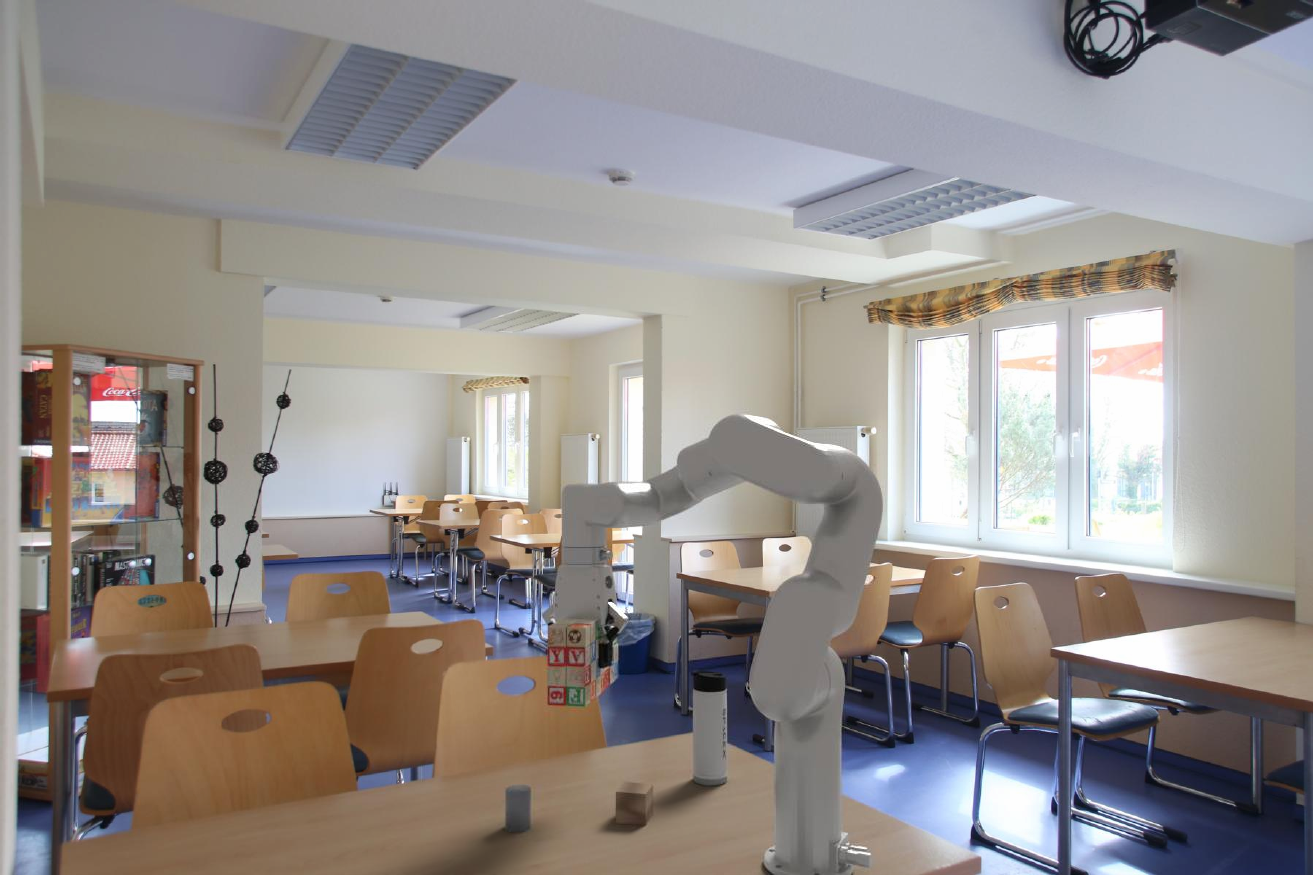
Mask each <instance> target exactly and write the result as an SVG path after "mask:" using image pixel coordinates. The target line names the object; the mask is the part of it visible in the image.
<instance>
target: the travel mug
mask: <svg viewBox="0 0 1313 875" xmlns="http://www.w3.org/2000/svg"><path fill="white" fill-rule="evenodd" d="M690 674H691V676H692V677H693V679H692V680H693V681H692V684H693V685H692V687H693V688H692V771H693V772H692V780H693V781H694V782H695V784H698V785H701V786H712V787H713V786H721V785H724V784H725V783H727V781H728V772H727V771H728V720H727V719H728V715H727V714H728V699H727V696H728V694H727V691H728V688H727V676H726V675H723V674H722V673H720V672H715V671H710V670H691V672H690Z"/></svg>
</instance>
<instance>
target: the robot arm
mask: <svg viewBox="0 0 1313 875" xmlns="http://www.w3.org/2000/svg"><path fill="white" fill-rule="evenodd" d="M746 482H747V483H749V484H752V485H754V486H756V487H759V488H760V489H763V490H766V491H768V492H770V493H772V494H773V495H774V494H775V495H776V496H779V497H782V498H783V499H786V500H788V501H791V502H795V503H797V504H801V505H817V504H818V505H823V507H824V508H823V514H822V517H821V520H820V522H819V524H818V526H817V528H816V530H815V533H814V536H813V538H812V543H811V548H810V551H809V555H808V558H807V561H806V564H805V566H804V569H803V571H802V573H800V574H796V575H793V576H791V577H789V578H787V579H786V580H785V581H783V582H782V583H781V584H780V585H778V587H777V588H776V590H775V592H774V593H773V595H772V597H771V599H770V600H769V603H768V605H767V606H768V607H767V609H766V612H765V616H764V620H763V623H762V627H761V630H760V633H759V637H758V641H757V643H756V648H755V652H754V656H753V659H752V663H751V665H750V666H751V667H750V671H749V680H748V684H749V694H750V697H751V699H752V702H753V704H754V706H755V707H756V709H757V711H759V713H761V714H762V715H763V716H764V717H766V718H767V719H769V720H771V721H774V729H773V730H774V731H773V732H774V733H773V734H774V735H773V767H774V768H773V774H774V776H773V779H774V780H773V782H774V783H773V785H774V786H773V788H774V790H773V793H774V845H773V846H771V847H769V848H767V849H766V850H765V852H764V855H763V864H764V867H765V868H766V869H767V870H768V871H769V872H770V873H771V874H772V875H852V874H853V873H854V869H855V866H857V867H860V868H864V869H872V866H873V861H874V859H873V854H872V853H870V852H869V848H868V847H867V846H861V845H857V846H856V845H853V844H852V843H851V842H849V833H848V832H844V831H843V803H842V802H843V799H842V798H843V797H842V796H843V794H842V793H843V792H842V791H843V790H842V787H843V785H842V727H843V726H842V725H843V711H844V710H843V709H844V702H845V701H844V699H845V692H846V691H845V689H846V677H845V675H846V674H845V669H844V665H843V663H842V660H841V658H840V656H839V655H838V654H837V652H836V651H835V650H834V649H833V648H832V647H831V646H830V645H831V641H832V639H833V638H836V637H837V636H839V635H842V634H843V633H845V632H846V631H847V630H849V629H850V628H851V627H852V625H853V624H854V623H855V620H856V617H857V614H858V610H859V607H860V602H861V598H862V595H863V592H864V588H865V583H866V580H867V577H868V573H869V570H870V566H871V562H872V557H873V553H874V551H875V550H874V549H875V547H876V543H877V540H878V536H879V532H880V528H881V524H882V519H883V513H884V512H883V510H884V501H883V500H884V499H883V498H884V497H883V492H882V489H881V485H880V482H879V480H878V478H877V476H876V474H875V473H874V471H873V470H872V469H871V467H870V466H869V465H868V464H867V462H865V460H864V459H863V458H861V457H860V456H858V454H856V453H854V451H852V450H849V449H848V448H844V447H842V446H839V445H835V444H828V443H819V442H817V443H816V442H811V441H807V440H806V439H803V438H800V437H798V436H795V435H793V434H789V433H786V432H784V431H783V429H782V428H781V427H780V425H778V424H777V423H776V422H774V421H773V420H771V419H769V418H766V417H762V416H756V415H751V414H745V413H744V414H743V413H736V414H731V415H728V416H725V417H723V418H722V419H720V420H719V421H718V422H717V423H716V424H715V425H714V426H713V428H712V429H711V431H710V432H709V435H708V437H707V438H704V439H702V440H700V441H698V442H695V443H693V444H690V445H688V446H686V447H684V448H682V449H681V450H680V451H679V452H678V455H677V458H676V465H675V466H674V467H672V468H671V469H667V471H664V472H662V473H660V474H658V475H656V476H653V477H652V478H648V479H646V480H643V481H608V482H602V483H570V484H569V483H568V484H566V485H565V486H564V487H563V488H562V492H561V565H559V566H558V569H557V572H556V577H555V584H554V585H555V586H554V596H553V597H554V598H553V603H552V604H551V605H550V606H548V608H546V609H545V610H544V611H543V612H542V613H541V618H542V619H543V621H544V622H545V624H546V625H547V627H548V626H550V625H552V624H555V623H557V622H559V621H561V620H562V619H564V618H571V619H583V620H597V624H598V635H599V637H600V639H601V641H602V643H600V644H599V657H598V667H599V668H602V669H603V668H606V667H609V666H611V664H612V660H613V641H615V640H616V638H617V639H618V637H619V635H620V634H621V633H622V632H623V630H624V629H625V627H626V625H627V624H628V623H629V619H630V618H629V617H628V616H627V615H626V614H625V613H624V612H623V611H621V610H620V608H619V607H618V602H617V601H618V600H617V591H616V583H615V578H614V577H615V576H614V572H613V571H614V570H613V568H612V566H611V565H608V564H607V563H608V561H609V560H612V559H613V558H614V554H613V551H610V550H608V546H607V544H608V543H607V541H608V536H607V533H608V529H624V528H638V527H639V528H640V527H647V526H651V525H654V524H656V523H659V522H661V521H664V520H667V519H669V518H672V517H674V516H676V515H680V514H681V513H684V512H686V511H687V510H689V509H691V508H693V507H694V506H696V505H698V504H700V503H701V502H702V501H704V500H705V499H708V498H709V497H712V496H713V495H717V494H719V493H722V492H724V491H727V490H728V489H731V488H733V487H736V486H738V485H740V484H743V483H746ZM612 625H613V626H614V627H613V628H612V627H611V626H612Z"/></svg>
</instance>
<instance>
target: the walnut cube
mask: <svg viewBox="0 0 1313 875" xmlns="http://www.w3.org/2000/svg"><path fill="white" fill-rule="evenodd" d="M653 815H654V784H653V783H646V782H645V783H644V782H643V783H642V782H630V781H623V782H622V784H620V786H619V787H618V788H617V790H615V824H623V825H624V824H625V825H634V826H635V825H637V826H638V825H639V826H647V825H648V823H649V822H650V820H651V818H652V816H653Z"/></svg>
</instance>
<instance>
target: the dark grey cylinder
mask: <svg viewBox="0 0 1313 875" xmlns="http://www.w3.org/2000/svg"><path fill="white" fill-rule="evenodd" d="M504 792H505V799H504V800H505V801H504V802H505V807H504V809H505V815H504V816H505V818H504V830H505V831H507V832H510V833H513V834H514V833H524V832H527V831H529V830H530V829H531V827H532V818H531V817H532V811H531V810H532V809H531V808H532V787H531V786H529V785H525V784H514V785H510V786H508V787H505V791H504Z"/></svg>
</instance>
